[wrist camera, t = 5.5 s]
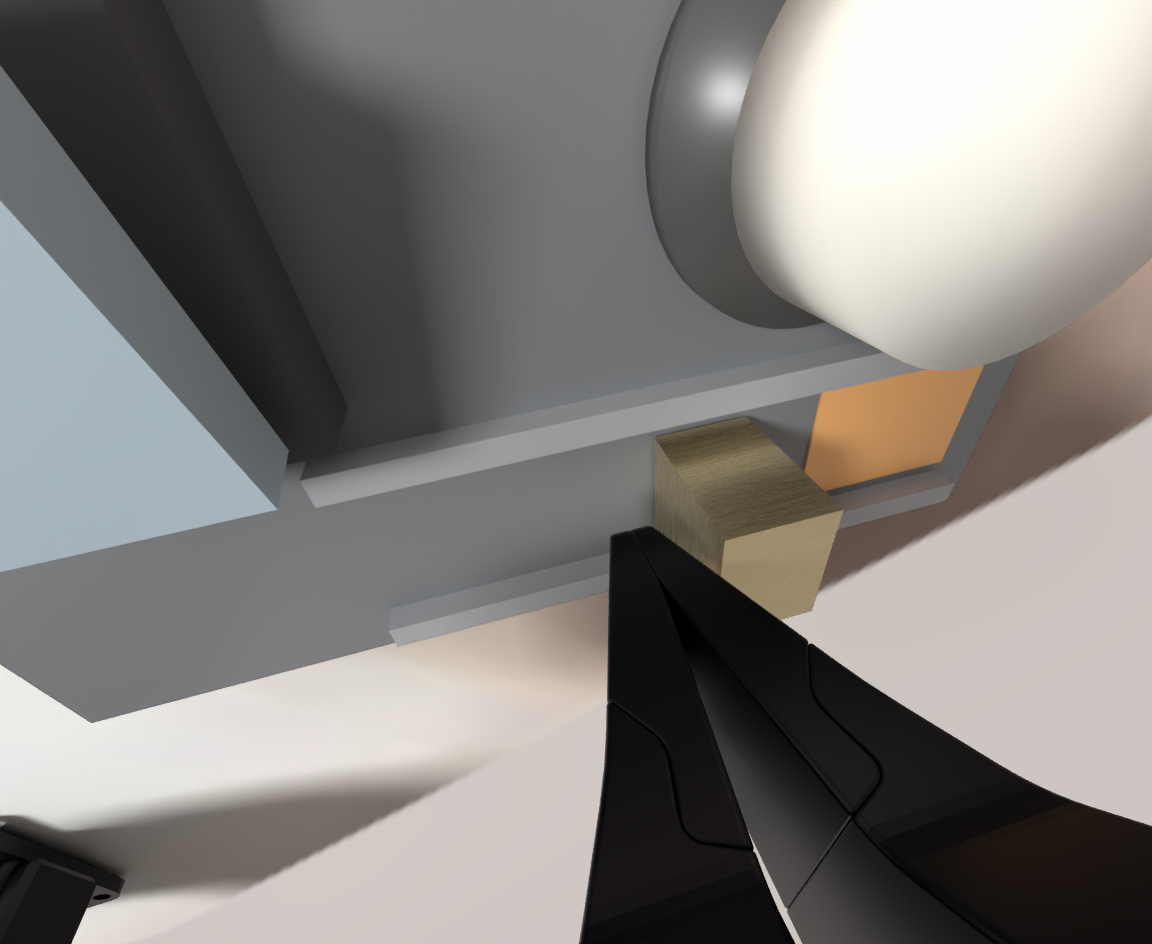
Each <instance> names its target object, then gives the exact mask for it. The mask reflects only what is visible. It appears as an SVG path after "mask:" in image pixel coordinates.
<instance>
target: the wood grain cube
mask: <svg viewBox="0 0 1152 944" xmlns="http://www.w3.org/2000/svg"><path fill="white" fill-rule="evenodd" d="M654 502H655V529H657V530H658V531H660V532H661V533H662V534H664V535H665V536H666V537H668V538H669V539H670V540H672V541H673V542H675V543H676V544H677V545H679V546H680V547H681V548H683V549H684V550H685V551H687V552H688V553H690V554H691V555H692V556H694V557H695V558H696V559H698V560H699V561H700V562H702V563H703V564H704V565H706V566H707V567H709V568H710V569H711V570H713V571H714V572H715V573H717V574H718V575H719V576H721V577H722V578H724V579H725V580H726V581H728V582H729V583H730V584H732V585H733V586H734V587H736V588H737V589H738V590H740V591H741V592H743V593H744V594H745V595H747V596H748V597H749V598H751V599H752V600H753V601H755V602H756V603H758V604H759V605H760V606H762V607H763V608H764V609H766V610H767V611H768V612H770V613H771V614H773V615H774V616H775V617H777V618H778V619H779V620H781V619H784V618H788V617H791V616H795V615H799V614H802V613H806V612H809V611H812V608H813V605H814V602H815V599H816V596H817V593H818V589H819V586H820V583H821V580H822V577H823V574H824V570H825V567H826V564H827V561H828V558H829V555H830V551H831V548H832V545H833V542H834V539H835V536H836V533H837V529H838V526H839V523H840V520H841V517H842V514H843V509H842V508H841V507H840V506H839V505H838V504H837V503H836V502H835V501H834V500H833V499H832V498H831V497H830V496H829V495H828V494H827V493H826V492H825V491H824V490H823V489H822V488H821V487H819V486H818V485H817V484H816V483H815V482H814V481H813V480H812V479H811V478H810V477H809V476H808V475H807V474H806V473H805V472H804V471H803V470H802V469H801V468H800V467H799V466H798V465H797V464H796V463H794V462H793V461H792V460H791V459H790V458H789V457H788V456H787V455H786V454H785V453H784V452H783V451H782V450H781V449H780V448H779V447H778V446H777V445H776V444H775V443H774V442H773V441H772V440H771V439H770V438H768V437H767V436H766V435H765V434H764V433H763V432H762V431H761V430H760V429H759V428H758V427H757V426H756V425H755V424H754V423H753V422H752V421H751V420H750V419H749V418H748V417H747V416H745V417H740V418H736V419H732V420H727V421H723V422H719V423H714V424H710V425H706V426H701V427H697V428H692V429H688V430H684V431H679V432H675V433H671V434H666V435H662V436H657V437H654Z"/></svg>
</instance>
